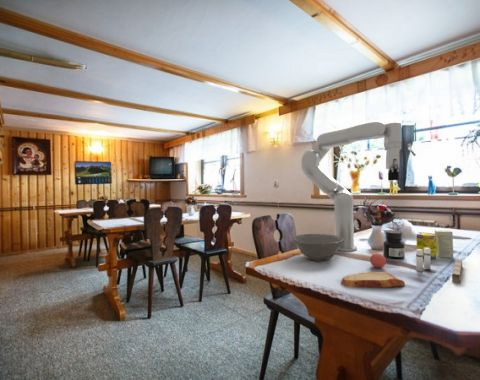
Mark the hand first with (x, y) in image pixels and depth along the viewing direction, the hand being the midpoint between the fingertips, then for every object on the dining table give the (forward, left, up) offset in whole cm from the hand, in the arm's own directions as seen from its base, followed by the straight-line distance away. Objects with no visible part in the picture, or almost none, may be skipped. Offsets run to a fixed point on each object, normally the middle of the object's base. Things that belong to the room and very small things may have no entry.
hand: (393, 180), depth 138 cm
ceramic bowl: (-36, -24, -37) cm, 57 cm away
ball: (-11, -31, -34) cm, 47 cm away
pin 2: (+8, -27, -37) cm, 46 cm away
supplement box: (+12, -8, -37) cm, 40 cm away
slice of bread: (-15, -51, -37) cm, 65 cm away
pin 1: (+4, -31, -37) cm, 48 cm away
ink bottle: (-2, -11, -37) cm, 39 cm away
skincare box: (+20, -4, -37) cm, 42 cm away
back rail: (+17, -31, -37) cm, 51 cm away
